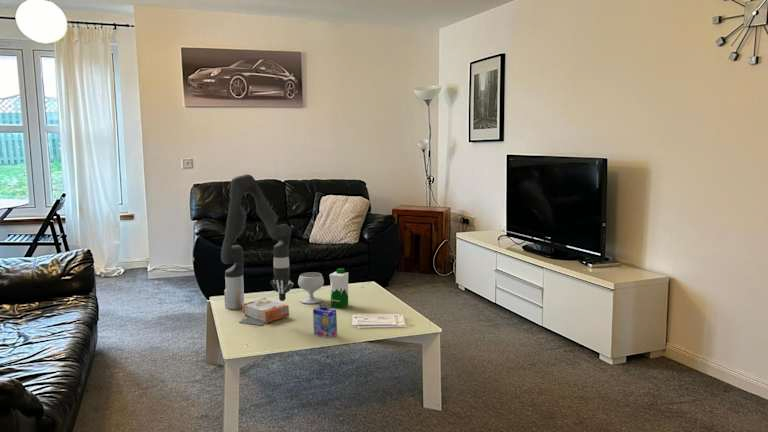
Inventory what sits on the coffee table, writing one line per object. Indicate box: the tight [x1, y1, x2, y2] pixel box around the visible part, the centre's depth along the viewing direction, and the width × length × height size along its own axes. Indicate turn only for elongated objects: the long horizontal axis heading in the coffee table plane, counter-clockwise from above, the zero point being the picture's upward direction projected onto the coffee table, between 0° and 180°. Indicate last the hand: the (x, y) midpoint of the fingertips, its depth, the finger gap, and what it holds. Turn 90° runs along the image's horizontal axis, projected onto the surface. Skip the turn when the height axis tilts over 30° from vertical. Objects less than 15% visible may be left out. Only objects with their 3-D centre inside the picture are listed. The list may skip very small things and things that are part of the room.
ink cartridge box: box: [312, 304, 338, 339], centre depth 260 cm, size 10×6×14 cm, turn 58°
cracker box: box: [242, 297, 290, 324], centre depth 289 cm, size 14×6×21 cm
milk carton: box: [328, 267, 349, 310], centre depth 304 cm, size 9×9×20 cm
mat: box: [238, 316, 270, 327], centre depth 285 cm, size 13×18×1 cm
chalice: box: [297, 271, 325, 305], centre depth 314 cm, size 14×14×15 cm
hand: (282, 300), depth 278 cm, fingers closed
